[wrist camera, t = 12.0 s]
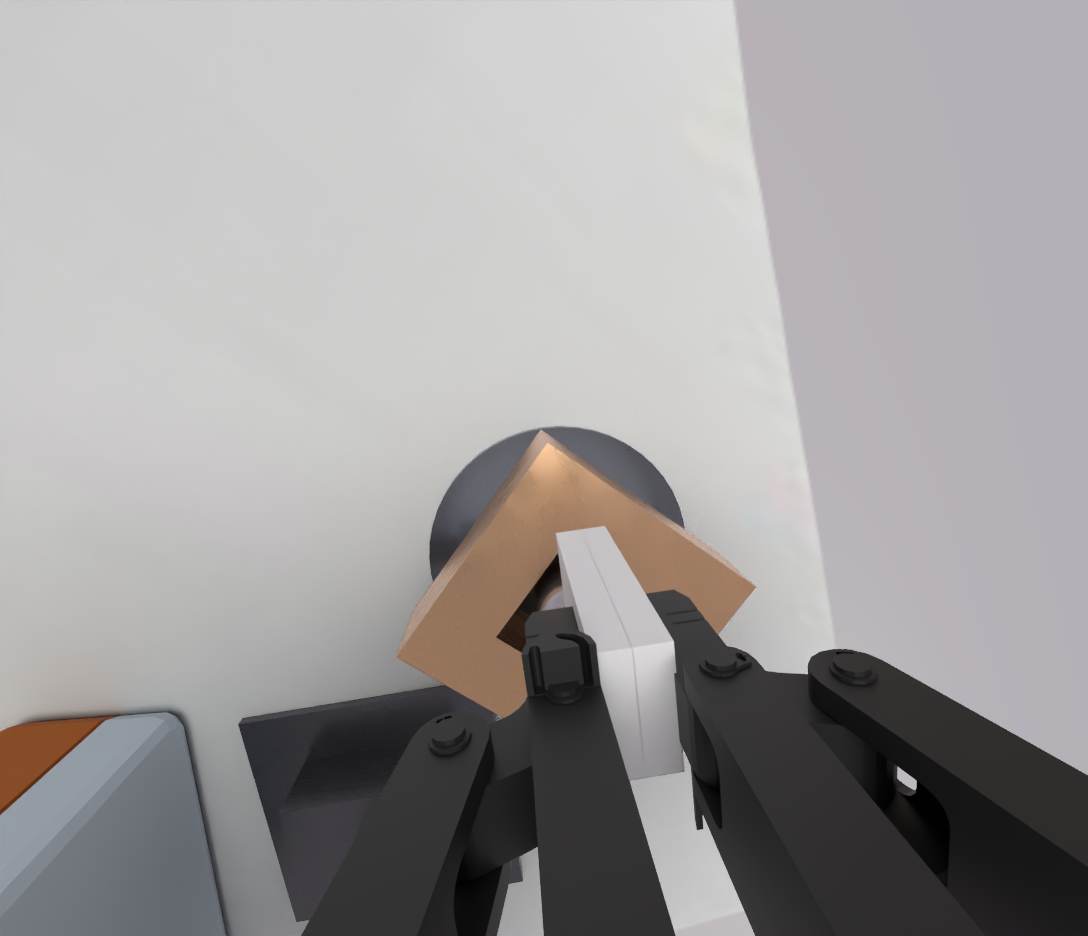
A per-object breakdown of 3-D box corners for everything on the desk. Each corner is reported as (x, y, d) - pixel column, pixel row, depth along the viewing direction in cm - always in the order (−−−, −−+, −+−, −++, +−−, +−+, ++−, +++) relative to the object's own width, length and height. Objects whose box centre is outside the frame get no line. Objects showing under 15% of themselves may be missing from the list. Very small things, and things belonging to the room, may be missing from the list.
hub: (454, 684, 30) (432, 819, 21) (408, 446, 27) (362, 487, 18) (691, 645, 30) (767, 760, 22) (672, 409, 28) (750, 431, 19)
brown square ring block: (412, 611, 26) (395, 656, 22) (540, 429, 24) (547, 442, 20) (590, 716, 27) (604, 775, 24) (718, 553, 26) (756, 586, 22)
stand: (299, 913, 32) (228, 1105, 24) (242, 718, 29) (139, 859, 21) (522, 873, 33) (528, 1046, 25) (488, 678, 30) (482, 800, 22)
